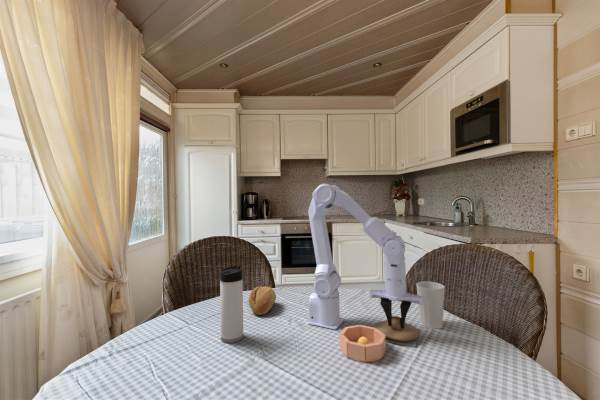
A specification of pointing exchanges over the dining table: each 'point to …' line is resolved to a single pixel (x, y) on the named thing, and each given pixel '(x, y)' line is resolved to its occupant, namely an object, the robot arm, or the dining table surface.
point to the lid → (397, 330)
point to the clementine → (363, 340)
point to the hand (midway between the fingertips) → (396, 325)
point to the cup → (431, 304)
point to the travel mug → (231, 304)
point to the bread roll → (261, 299)
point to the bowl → (361, 351)
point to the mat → (404, 342)
